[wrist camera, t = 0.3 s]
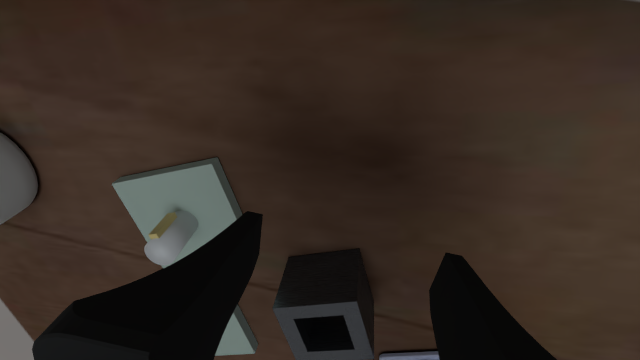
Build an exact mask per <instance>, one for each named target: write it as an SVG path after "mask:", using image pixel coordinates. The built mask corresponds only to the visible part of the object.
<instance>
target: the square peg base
mask: <svg viewBox="0 0 640 360" xmlns="http://www.w3.org/2000/svg"><path fill="white" fill-rule="evenodd" d="M112 185H113V187H114V189H115V190H116V192H117V193H118V195H119V197H120V198H121V200H122V202H123V203H124V205H125V207H126V208H127V210H128V211H129V213H130V215H131V216H132V218H133V220H134V221H135V223H136V225H137V226H138V228H139V229H140V231H141V233H142V234H143V236H144V238H145V239H146V241H147V244H146V246H145V254H146V256H147V257H148V258H149V259H150V260H151V261H152V262H154V263H156V264H159V265H161V266H162V267H163V268H166V267H168V266H170V265H171V264H173V263H175V262H177V261H179V260H180V259H182V258H184V257H186V256H187V255H189V254H190V253H192V252H194V251H195V250H197V249H198V248H200V247H201V246H203V245H204V244H206V243H207V242H208V241H210V240H211V239H213V238H214V237H215V236H217V235H218V234H219V233H221V232H222V231H223V230H225V229H226V228H227V227H228V226H230V225H231V224H232V223H233V222H234V221H236V220H237V219H238V218H239V217H240V216H242V215H243V214H242V212H241V210H240V207H239V205H238V203H237V201H236V198H235V196H234V194H233V191H232V189H231V187H230V185H229V182H228V180H227V178H226V175H225V173H224V171H223V168H222V166H221V164H220V162H219V159H218V157H216V158H211V159H207V160H202V161H197V162H192V163H187V164H182V165H177V166H172V167H168V168H163V169H158V170H153V171H148V172H143V173H138V174H133V175H129V176H124V177H120V178H119V179H117V180H116V181H115V182H113V183H112Z"/></svg>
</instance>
